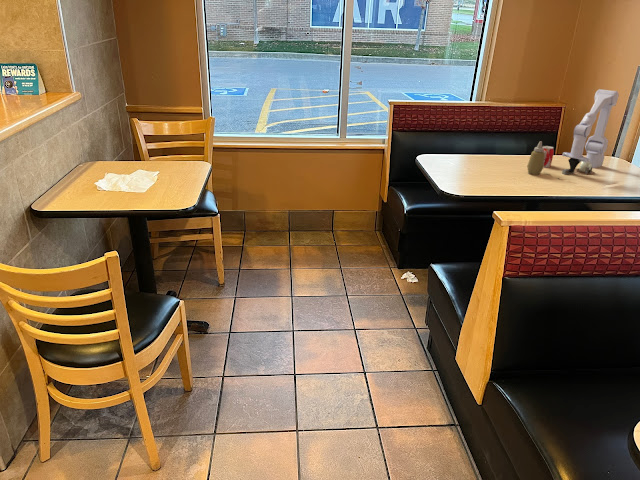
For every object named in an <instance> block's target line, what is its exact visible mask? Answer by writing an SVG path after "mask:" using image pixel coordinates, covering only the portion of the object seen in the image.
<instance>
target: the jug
mask: <svg viewBox="0 0 640 480" xmlns="http://www.w3.org/2000/svg"><path fill="white" fill-rule="evenodd" d="M579 164H580V165H579V168H578V169H579V171H583V172H585V171H586V167H588V168H589V170H591V166H592V164H590V161H589V162H587V163H585V162H583V161H581V162H580V163H579Z"/></svg>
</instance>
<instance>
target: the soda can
mask: <svg viewBox="0 0 640 480" xmlns="http://www.w3.org/2000/svg"><path fill="white" fill-rule="evenodd" d="M542 148H544V151H543V152H544V153H545V156H544V165H543V168H551V166H552V162H553V158H554V153H555V150H554V146H549V145H542Z"/></svg>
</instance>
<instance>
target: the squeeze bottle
mask: <svg viewBox="0 0 640 480" xmlns="http://www.w3.org/2000/svg"><path fill="white" fill-rule="evenodd" d="M543 151H544V148H543V141H542V140H541V141H540V140H539V142H538V144H537V145H536V146H535V147H534V149H533V151H531V154H530V157H529V160H528V162H527V166H526V167H527V173H528V174H529V175H532V176H538V175H540V174H541V173H542V170H543V169H544V167H543V165H544V156H545V153H544V152H543Z"/></svg>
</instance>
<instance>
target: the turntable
mask: <svg viewBox="0 0 640 480" xmlns="http://www.w3.org/2000/svg"><path fill="white" fill-rule="evenodd" d="M561 171H562V172H561V174H562V175H564V176H565V175H573V174H576V175H581V176H594V175H596V172H594V171H593V168H592V167H591V170H589V168H588V167H586V171H585V172H583V171H579V168H575V170H574V172H570V168H564V169H562V170H561Z"/></svg>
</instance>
